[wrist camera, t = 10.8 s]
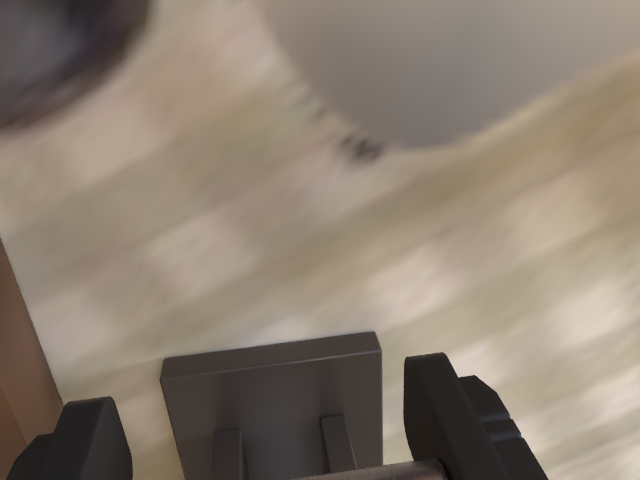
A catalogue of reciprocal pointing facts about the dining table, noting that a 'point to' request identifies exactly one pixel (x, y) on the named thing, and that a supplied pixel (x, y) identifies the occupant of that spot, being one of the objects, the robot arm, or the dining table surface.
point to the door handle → (392, 472)
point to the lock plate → (21, 376)
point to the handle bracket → (277, 409)
